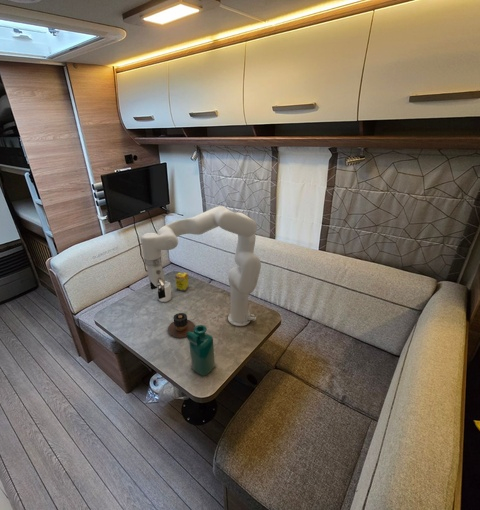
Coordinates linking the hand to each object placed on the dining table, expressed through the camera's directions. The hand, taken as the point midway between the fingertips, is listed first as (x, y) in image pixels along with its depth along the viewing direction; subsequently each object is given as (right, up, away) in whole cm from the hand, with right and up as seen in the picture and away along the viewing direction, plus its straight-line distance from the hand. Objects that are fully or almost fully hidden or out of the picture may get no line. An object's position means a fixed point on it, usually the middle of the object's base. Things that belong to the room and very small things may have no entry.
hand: (158, 293), depth 131 cm
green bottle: (+21, -33, -6) cm, 40 cm away
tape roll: (+9, -18, +17) cm, 26 cm away
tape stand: (+9, -22, +18) cm, 30 cm away
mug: (-4, -9, +47) cm, 49 cm away
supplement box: (+6, -5, +56) cm, 56 cm away
